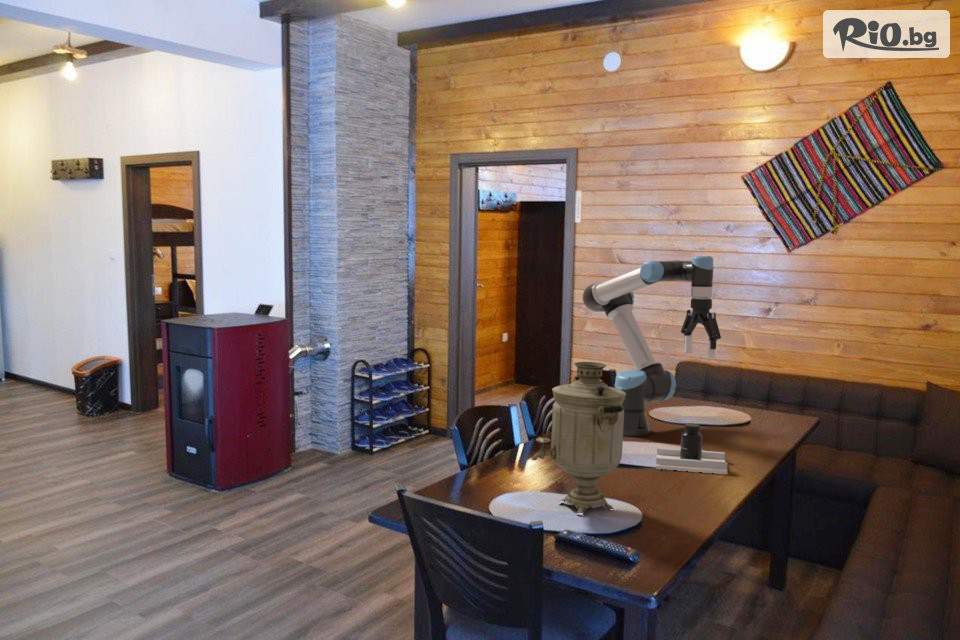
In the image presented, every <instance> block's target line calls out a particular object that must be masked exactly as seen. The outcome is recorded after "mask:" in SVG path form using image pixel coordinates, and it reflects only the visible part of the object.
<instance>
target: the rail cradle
mask: <svg viewBox="0 0 960 640" xmlns="http://www.w3.org/2000/svg"><path fill="white" fill-rule="evenodd" d="M680 449H681V448H667V447H666V448H665V447H657V448H656V457H655V458H656V459H655V460H656V462H655V470H661V469H663V470H662V471H673V470H677V472H686V471H688V473H699V472H702V473H703V474H712V473H714V475H725V474H726V475H728V471H729V470H728V462H727V461H726V458H725V457H726V455H725V454H726V453H725V451H711V450H702V458H701V460H691V459H680ZM665 469H666V470H665ZM702 473H701V474H702Z"/></svg>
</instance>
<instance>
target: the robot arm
mask: <svg viewBox="0 0 960 640" xmlns="http://www.w3.org/2000/svg"><path fill="white" fill-rule="evenodd" d="M714 269H715V267H714V258H713V256H710V255H693V256H692V259H691V260H651V261H646V262H644V263H643V264H642V265H641V266H640V267H637V268H635V269H633V270H631V271H629V272H626V273H623V274H621V275H618V276H616V277H614V278H611V279H609V280H607V281H604V282H602V281H597V282H595V283H592V284H590V285H588V286H586V288H585V289H584V290H583V293H582V303H584V306H585V307H586V308H587V309H588V310H590V311H593V312H595V313H596V312H604V313H605V315H606V318H607V319H608V320H610V321H613V324H614V326H615V328H616V330H617V332H618V333H617V334H619V337H620V338H621V341H622V343H623V345H624V347H625V349H626V352H627V353H628V356H629V358H630V360H631V363H632V365H633V367H634V369H631V370H630V369H628V370H627V369H626V370H623V371H621V372H619V373H617V374H616V375H615V383H614V388H616V389H619V390H621V391H623V392H625V393H626V395H625V399H624V401H623V404H621V405H622V407H624V423H623V437H624V436H627V437H639V436H640V437H641V436H646V435H649V434H650V424H649V421H648V418H647V415H646V404H647V403H648V404H649V403H655V402H663V401H665V400H666V401H667V400H668V399H670V398H672V397H673V395H674V394H675V391H676V387H677V382H676V377H675V376H674V374H673V372H671V371H669V370H665V369H664V367H663V364H662V363H661V362H659V361H656V359H655V357H654V355H653V353H652V351H651V350H652V349H650V346H649V345H648V343H647V340H646V338H645V336H644V334H643V332H642V330H641V328H640V325H639V324H638V321H637V319H636V317H635V316H634V313H633V310H634V303H635V300H634V298H635V295H634V291H638V290H641V289H643V288H646V287H648V286H651V285H654V284H656V283H660V282H691V287H690V297H691V299H690V309H687V310H686V315H685V318H684V321H683V324H682V326H681V330H680V333H681V334H683V336H684V353H685V354H692V352H693V332H694V330H695V328H696V327H697V325H699V324H700V325H702V326H703V327H704V330H705V332H706V334H707V336H708V338H709V339H708V340H707V359H716V350H717V341H718V340H721V339H722V336H721V332H720V328H719V325H718V322H717V313H716V312H710V310H711V309H712V308H713V299H712V297H713V286H714V285H713V283H714V281H713V280H714Z"/></svg>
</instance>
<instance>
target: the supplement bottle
mask: <svg viewBox="0 0 960 640" xmlns="http://www.w3.org/2000/svg"><path fill="white" fill-rule="evenodd" d="M700 432H701V425H700V424H697V423H694V422H693V423H685V424H684V431H683V432H682V433H681V434H680V448H679V449H680V459H691V460H701V458H702V451H703V435H702V433H700Z"/></svg>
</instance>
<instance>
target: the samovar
mask: <svg viewBox="0 0 960 640" xmlns="http://www.w3.org/2000/svg"><path fill="white" fill-rule="evenodd" d="M573 365H574V366H575V367H576V375H577V376H574V379H575V380H574V381H572V382H571V383H569V384H561V385H557V386H554V387H553V388H551V389H552V394H553V395H552V396H553V398H554V403H553V404H552V414H551V415H552V417H551V437H550V438H551V439H550V438H548V437H545V436H542V437H538V438H536V439H535V441H536V442H539V443H541V446H540V449H539V451H538V452H536V453H535V454H534V455H533V456H532V458H531V461H537V460H538V458H539V459H542V460H543V459H545V457H546V456H550V459H551V460H553V461H554V463H555V465H556V466H558V468H559V469H561V470H562V471H564V473H566V474H567V475H570V476H572V482H573V484H575V485H576V486H577V487H575V488H573V489H572V490H571V491H570V492H568V493H567V495H566V496H565V497H564V498H563V499H561V500H562V501H564V502H565V503H567V504H569V505H571V506H574V507H575V508H576V509H577V512H578V513H584V514H585V512H586V511H587V509H589V508H593V509H596V508H600V507H601V506H603V507H604V508H607V509H608V510H610V509H614V507H613V505H611V504H609V503H608V501H607V500H606V498H605V496H604V495H605V494H603V493H602V492H601V491H600V490H598V489H596V488H595V487H596V486H598V485H599V484H600V477H603V476H606V475H608V474H609V473H611V471H614V470H615V469H617V467H618V466H619V465H620V463H621V460H622V457H623V442H624V439H623V438H624V435H623V423H624V407H622V405H621V404H623V401H624V399H625V395H626V393H625V392H623V391H621V390H619V389H616V388H615V387H612V386H608V384H607V383H605V382H604V381H601V378H602V377H603V370H604V368H606V367H607V366H608V364H606V363H603V362H596V361H576V362H574V363H573ZM549 442H550V451H549V450H548V451H547V450H546V449H545V444H546V443H549Z"/></svg>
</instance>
